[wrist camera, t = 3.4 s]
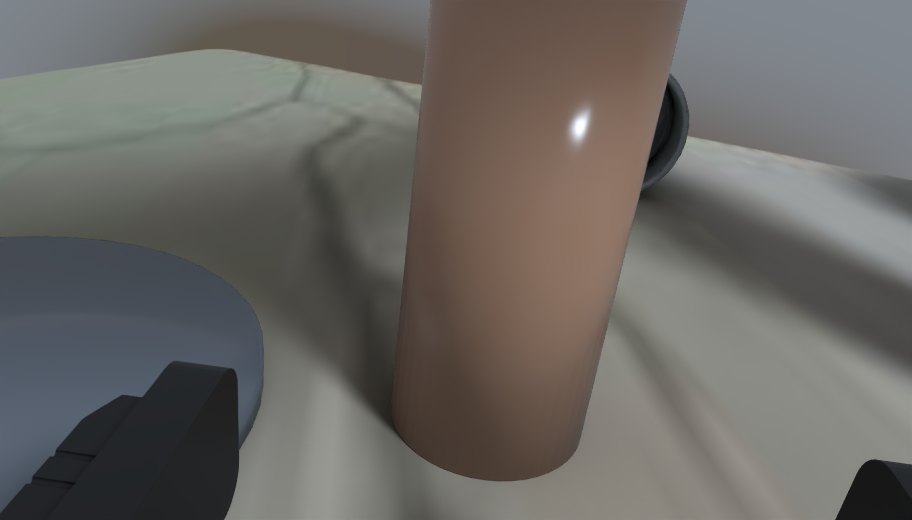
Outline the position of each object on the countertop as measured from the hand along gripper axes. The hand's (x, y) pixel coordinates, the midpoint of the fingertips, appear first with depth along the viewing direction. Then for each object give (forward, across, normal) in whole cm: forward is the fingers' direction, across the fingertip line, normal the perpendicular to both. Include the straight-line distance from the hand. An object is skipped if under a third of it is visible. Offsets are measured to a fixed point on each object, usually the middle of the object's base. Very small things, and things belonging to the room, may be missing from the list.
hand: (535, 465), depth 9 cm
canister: (+10, 0, +7) cm, 12 cm away
